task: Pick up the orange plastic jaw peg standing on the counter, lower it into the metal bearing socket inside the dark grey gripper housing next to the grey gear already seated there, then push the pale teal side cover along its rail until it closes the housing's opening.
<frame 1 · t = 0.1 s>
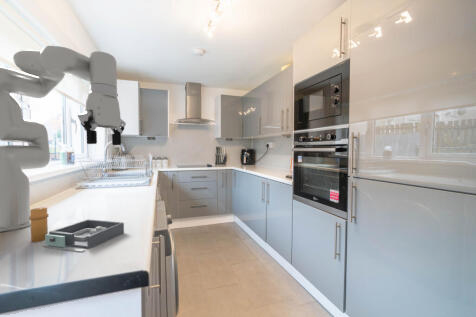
hand: (105, 144, 71), 31 cm above the counter, tool pointing down, fingers open, 9 cm apart
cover: (53, 241, 63), point 2 cm above the counter, slide at 7.0 cm
jaw peg: (39, 239, 70), on the counter
housing: (88, 237, 71), on the counter
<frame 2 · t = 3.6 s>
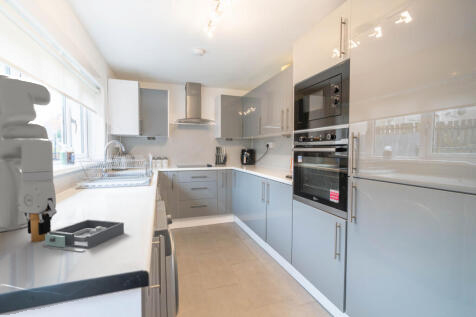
hand: (39, 232, 70), 2 cm above the counter, tool pointing down, fingers closed on jaw peg, 4 cm apart
jaw peg: (39, 239, 70), on the counter, touching gripper
everything else where it was.
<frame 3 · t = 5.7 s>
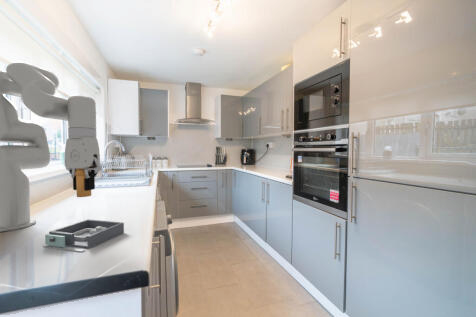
hand: (84, 189, 71), 16 cm above the counter, tool pointing down, fingers closed on jaw peg, 4 cm apart
jaw peg: (84, 196, 71), point 14 cm above the counter, touching gripper
everything else where it was.
when the fingers open (4 cm above the counter, at t = 8.1 s): jaw peg drops 2 cm, resting on housing.
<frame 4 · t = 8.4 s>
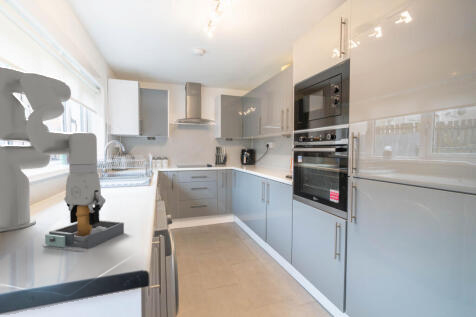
hand: (84, 222, 71), 5 cm above the counter, tool pointing down, fingers open, 7 cm apart
jaw peg: (84, 235, 71), point 1 cm above the counter, touching housing
everything else where it was.
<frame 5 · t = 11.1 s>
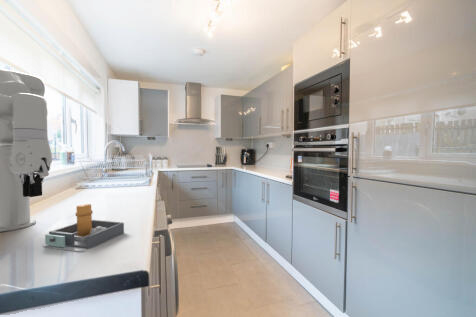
hand: (32, 195, 66), 15 cm above the counter, tool pointing down, fingers closed
nothing on the counter moved.
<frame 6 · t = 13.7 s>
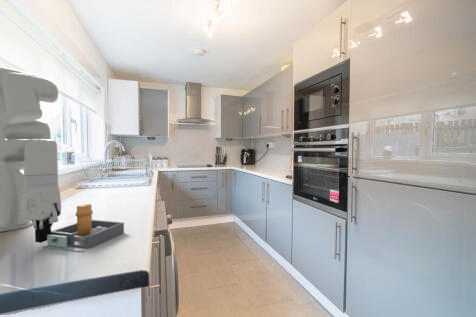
hand: (43, 240, 65), 2 cm above the counter, tool pointing down, fingers closed
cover: (55, 241, 63), point 2 cm above the counter, slide at 6.2 cm, touching gripper
everything else where it was.
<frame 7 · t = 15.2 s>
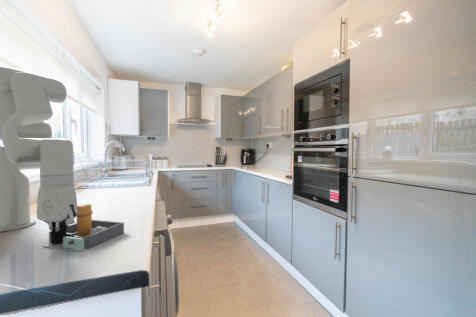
hand: (59, 242, 63), 2 cm above the counter, tool pointing down, fingers closed
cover: (71, 243, 61), point 2 cm above the counter, slide at -0.1 cm, touching gripper
everything else where it was.
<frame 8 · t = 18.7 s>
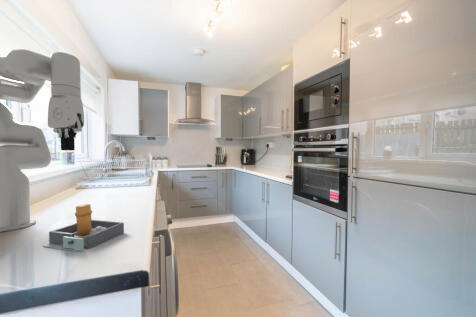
hand: (67, 150, 70), 29 cm above the counter, tool pointing down, fingers closed
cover: (71, 243, 61), point 2 cm above the counter, slide at 0.0 cm
everything else where it was.
at the end: jaw peg 0.1 cm from the target spot on the housing, point 0.7 cm above the housing's base; jaw peg tilted 2°; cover slide at 0.0 cm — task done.
